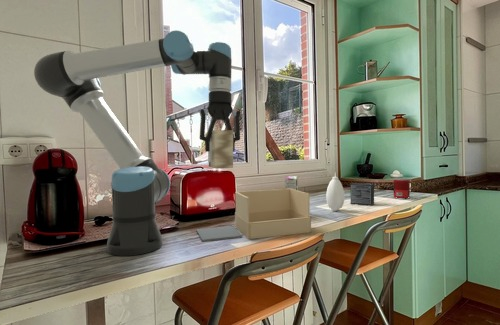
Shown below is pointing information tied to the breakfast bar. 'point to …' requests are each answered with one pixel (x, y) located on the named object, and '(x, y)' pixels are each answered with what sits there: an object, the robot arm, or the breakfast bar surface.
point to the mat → (218, 233)
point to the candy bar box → (292, 182)
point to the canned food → (401, 187)
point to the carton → (272, 213)
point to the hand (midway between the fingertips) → (220, 161)
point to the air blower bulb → (335, 194)
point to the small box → (362, 193)
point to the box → (222, 149)
